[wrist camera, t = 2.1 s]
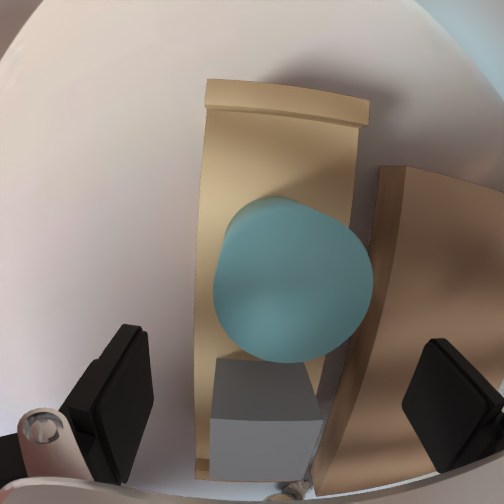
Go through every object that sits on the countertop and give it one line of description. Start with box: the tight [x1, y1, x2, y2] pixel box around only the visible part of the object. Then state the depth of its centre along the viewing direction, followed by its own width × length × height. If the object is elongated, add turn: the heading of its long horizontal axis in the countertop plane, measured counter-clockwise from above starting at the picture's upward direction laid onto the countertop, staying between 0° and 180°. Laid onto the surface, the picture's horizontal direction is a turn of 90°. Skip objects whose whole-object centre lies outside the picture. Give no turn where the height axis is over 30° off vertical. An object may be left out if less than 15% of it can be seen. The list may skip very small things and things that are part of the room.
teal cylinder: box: [213, 196, 373, 363], centre depth 10 cm, size 4×4×5 cm
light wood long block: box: [194, 79, 370, 482], centre depth 15 cm, size 20×6×6 cm, turn 175°
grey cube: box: [209, 358, 324, 481], centre depth 12 cm, size 4×4×4 cm
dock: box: [310, 166, 504, 496], centre depth 18 cm, size 24×15×3 cm, turn 175°
